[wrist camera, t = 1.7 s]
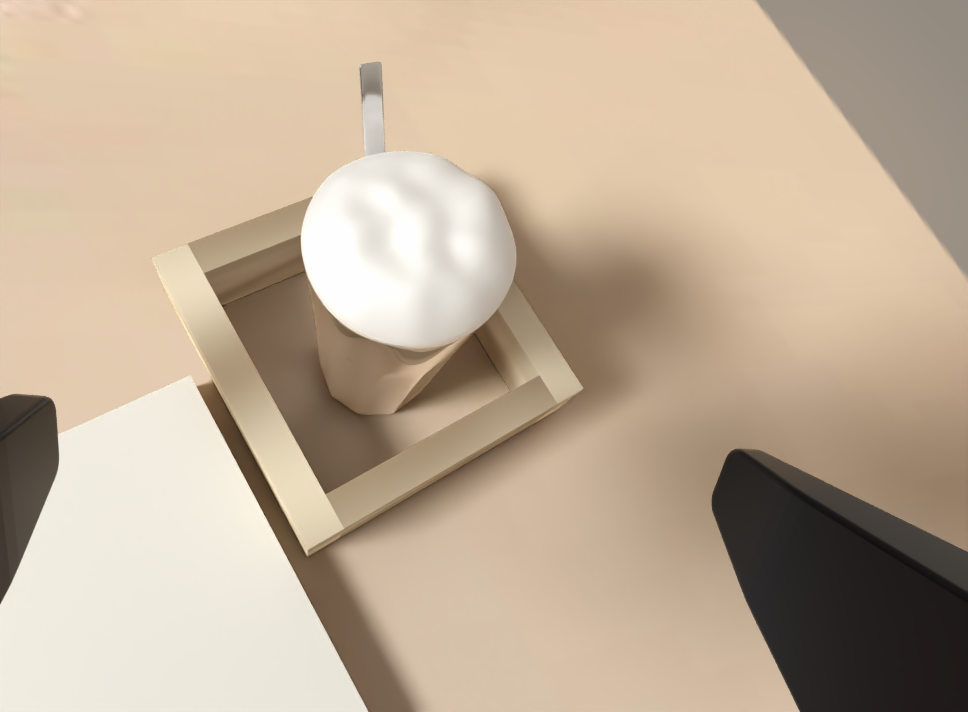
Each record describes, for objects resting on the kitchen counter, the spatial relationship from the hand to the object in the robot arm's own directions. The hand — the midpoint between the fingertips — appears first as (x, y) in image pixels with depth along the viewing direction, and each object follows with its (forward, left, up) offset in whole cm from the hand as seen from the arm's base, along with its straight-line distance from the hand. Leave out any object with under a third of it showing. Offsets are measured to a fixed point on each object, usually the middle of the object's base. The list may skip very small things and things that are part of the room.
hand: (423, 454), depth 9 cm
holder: (+5, -3, -12) cm, 13 cm away
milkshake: (+5, -3, -12) cm, 13 cm away
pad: (+1, +6, -12) cm, 13 cm away
